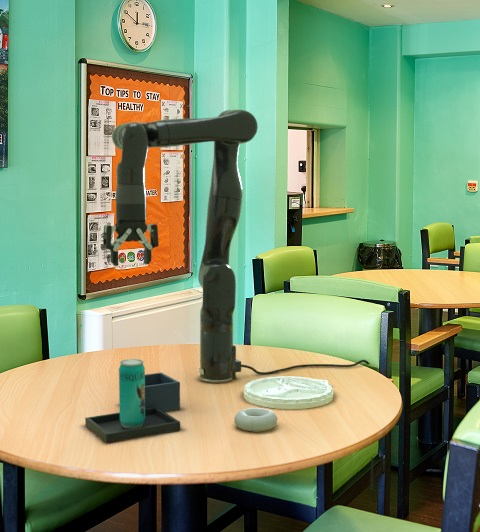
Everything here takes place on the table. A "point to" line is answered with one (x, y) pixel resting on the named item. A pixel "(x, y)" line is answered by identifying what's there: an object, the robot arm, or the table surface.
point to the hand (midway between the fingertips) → (131, 264)
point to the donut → (255, 419)
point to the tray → (113, 430)
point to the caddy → (162, 392)
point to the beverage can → (132, 393)
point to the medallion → (288, 392)
